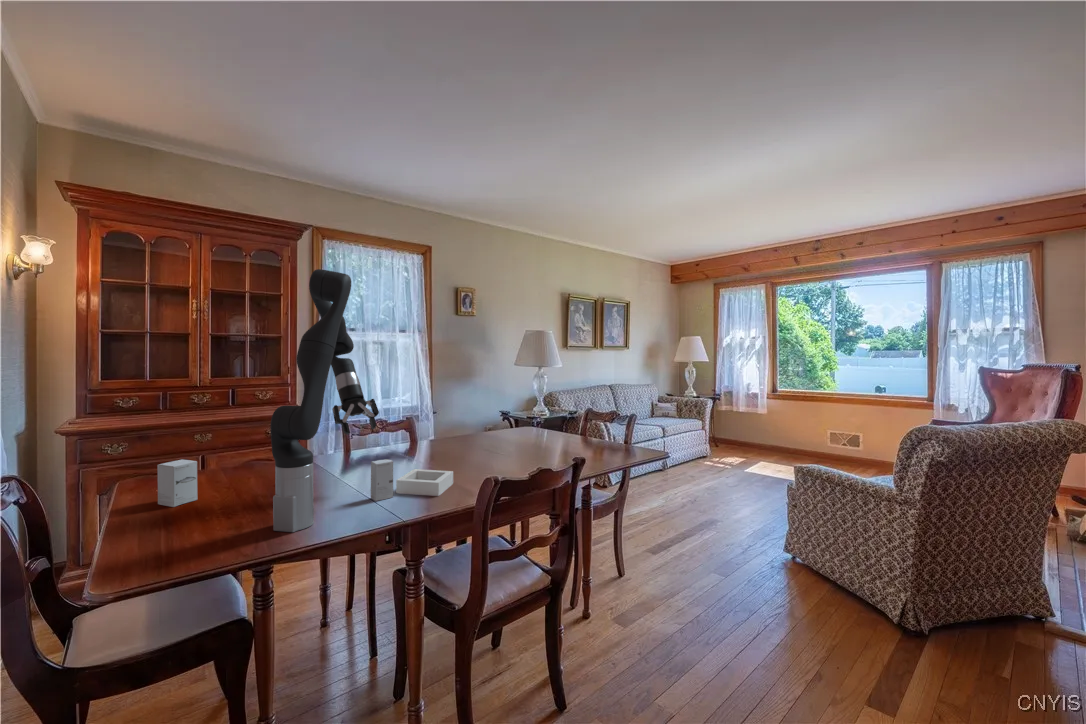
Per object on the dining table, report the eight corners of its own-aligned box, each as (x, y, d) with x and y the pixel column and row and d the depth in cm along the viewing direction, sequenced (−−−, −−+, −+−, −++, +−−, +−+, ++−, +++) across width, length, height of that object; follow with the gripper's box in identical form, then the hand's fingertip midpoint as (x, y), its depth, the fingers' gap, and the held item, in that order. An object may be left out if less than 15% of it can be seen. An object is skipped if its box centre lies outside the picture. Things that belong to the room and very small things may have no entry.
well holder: (438, 496, 155) (438, 482, 155) (396, 493, 157) (396, 480, 157) (453, 483, 169) (453, 471, 169) (414, 481, 171) (414, 469, 171)
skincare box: (375, 501, 149) (375, 464, 148) (370, 498, 152) (369, 461, 152) (394, 497, 153) (394, 460, 153) (387, 494, 156) (387, 458, 156)
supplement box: (173, 507, 141) (172, 466, 141) (157, 504, 144) (156, 464, 143) (198, 500, 148) (197, 460, 148) (182, 497, 151) (181, 458, 150)
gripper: (329, 386, 155) (342, 432, 151) (372, 380, 164) (385, 423, 160) (325, 395, 160) (337, 439, 156) (366, 388, 169) (378, 430, 165)
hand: (361, 431), depth 158 cm, fingers open, 8 cm apart
